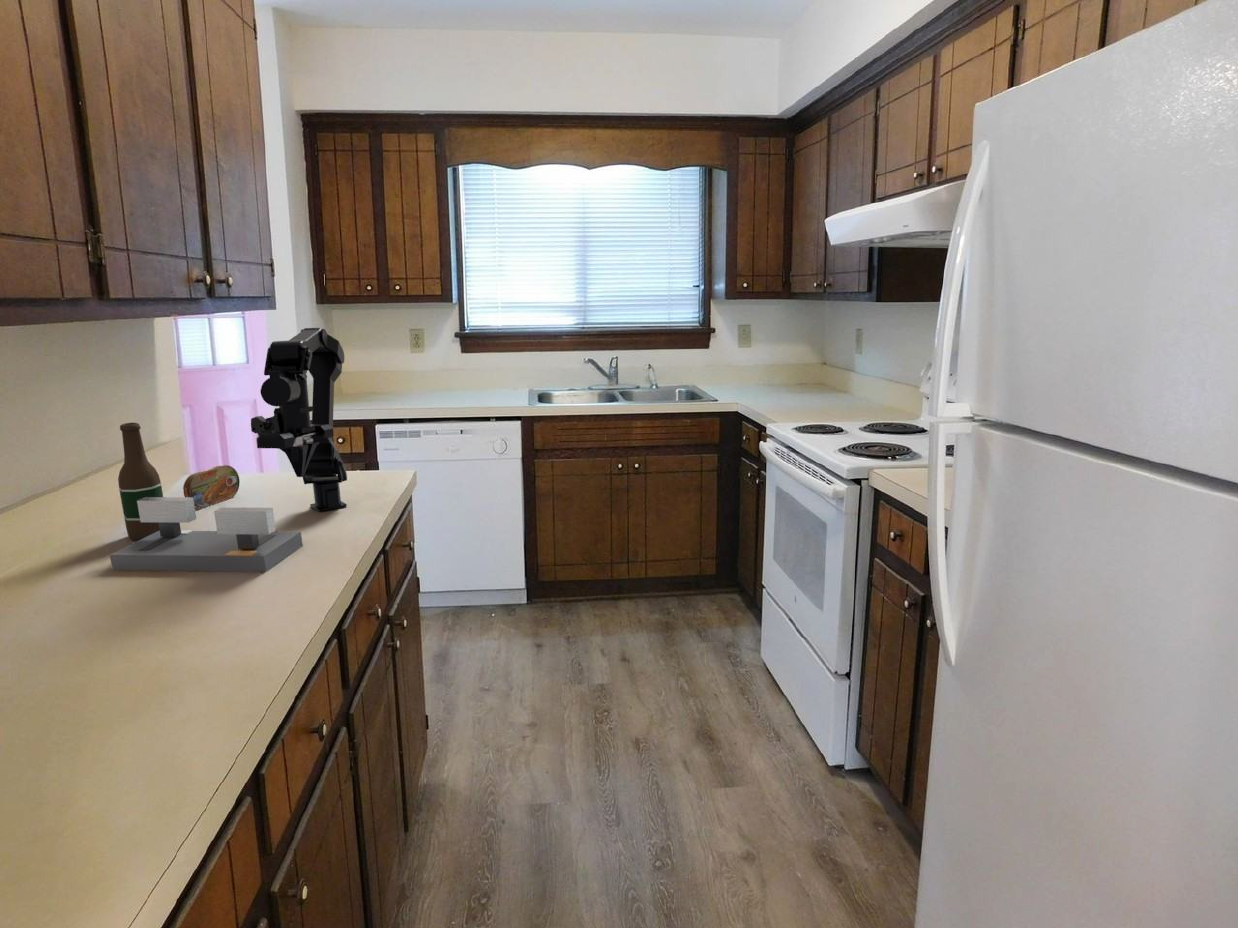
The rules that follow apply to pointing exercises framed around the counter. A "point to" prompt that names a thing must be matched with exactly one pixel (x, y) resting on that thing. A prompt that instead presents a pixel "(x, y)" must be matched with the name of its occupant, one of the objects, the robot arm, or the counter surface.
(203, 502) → the tin
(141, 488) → the beer bottle
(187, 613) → the counter surface
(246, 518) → the switch
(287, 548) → the switch panel
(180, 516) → the switch
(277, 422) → the robot arm
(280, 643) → the counter surface
